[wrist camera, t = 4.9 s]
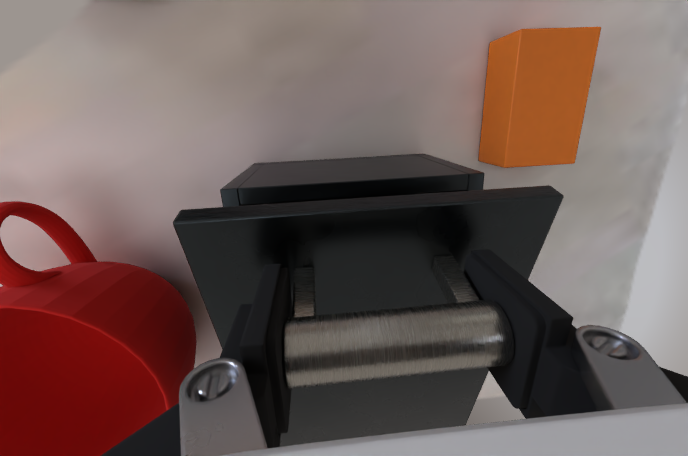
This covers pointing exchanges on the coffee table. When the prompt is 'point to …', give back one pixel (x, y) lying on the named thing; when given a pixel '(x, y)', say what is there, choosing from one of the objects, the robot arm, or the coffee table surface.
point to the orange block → (537, 96)
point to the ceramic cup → (85, 348)
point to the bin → (348, 179)
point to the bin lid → (373, 299)
